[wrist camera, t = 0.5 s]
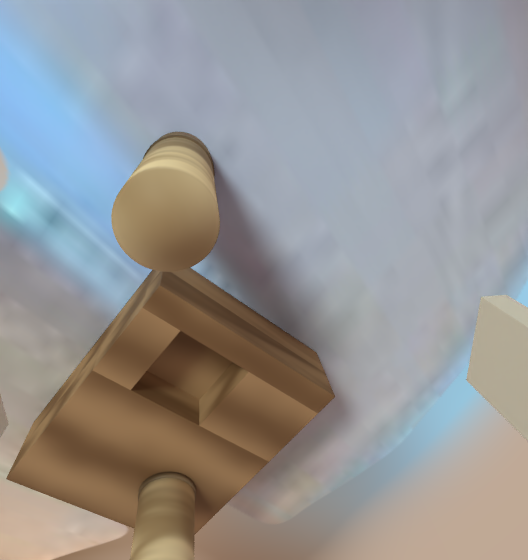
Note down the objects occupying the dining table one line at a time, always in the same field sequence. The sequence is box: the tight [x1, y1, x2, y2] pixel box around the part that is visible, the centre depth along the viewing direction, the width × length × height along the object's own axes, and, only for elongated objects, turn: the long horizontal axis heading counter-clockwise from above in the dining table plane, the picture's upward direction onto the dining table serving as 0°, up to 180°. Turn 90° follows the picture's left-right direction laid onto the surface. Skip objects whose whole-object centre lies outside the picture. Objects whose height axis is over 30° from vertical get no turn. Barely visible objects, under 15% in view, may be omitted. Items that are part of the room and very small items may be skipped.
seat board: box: [6, 268, 335, 560], centre depth 31 cm, size 20×16×17 cm
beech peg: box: [112, 132, 220, 272], centre depth 24 cm, size 5×5×14 cm
